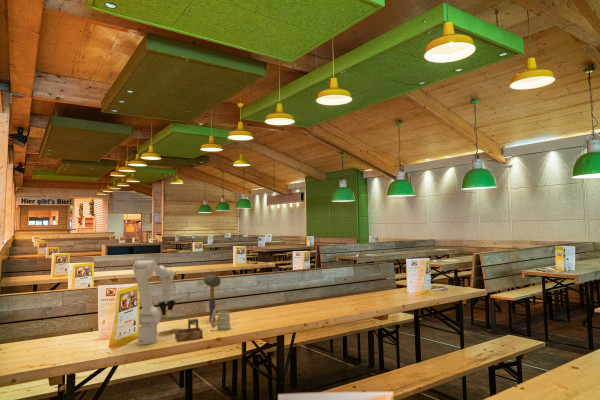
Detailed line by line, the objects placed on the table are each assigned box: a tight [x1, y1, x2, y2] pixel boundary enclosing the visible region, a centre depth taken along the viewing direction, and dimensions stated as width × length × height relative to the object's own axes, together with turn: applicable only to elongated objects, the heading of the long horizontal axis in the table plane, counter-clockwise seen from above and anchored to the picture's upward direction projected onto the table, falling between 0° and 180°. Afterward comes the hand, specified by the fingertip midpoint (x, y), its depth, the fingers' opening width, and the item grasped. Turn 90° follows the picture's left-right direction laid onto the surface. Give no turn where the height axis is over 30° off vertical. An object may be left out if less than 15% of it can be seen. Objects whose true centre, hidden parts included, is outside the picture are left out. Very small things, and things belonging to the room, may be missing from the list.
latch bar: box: [188, 318, 197, 326], centre depth 224 cm, size 3×10×1 cm, turn 25°
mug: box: [209, 309, 231, 331], centre depth 229 cm, size 8×12×12 cm, turn 116°
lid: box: [160, 309, 188, 321], centre depth 226 cm, size 13×10×4 cm
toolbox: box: [174, 318, 204, 343], centre depth 214 cm, size 13×16×8 cm
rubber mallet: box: [204, 274, 221, 323], centre depth 249 cm, size 12×8×30 cm, turn 34°
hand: (166, 314), depth 223 cm, fingers closed on lid, 3 cm apart
